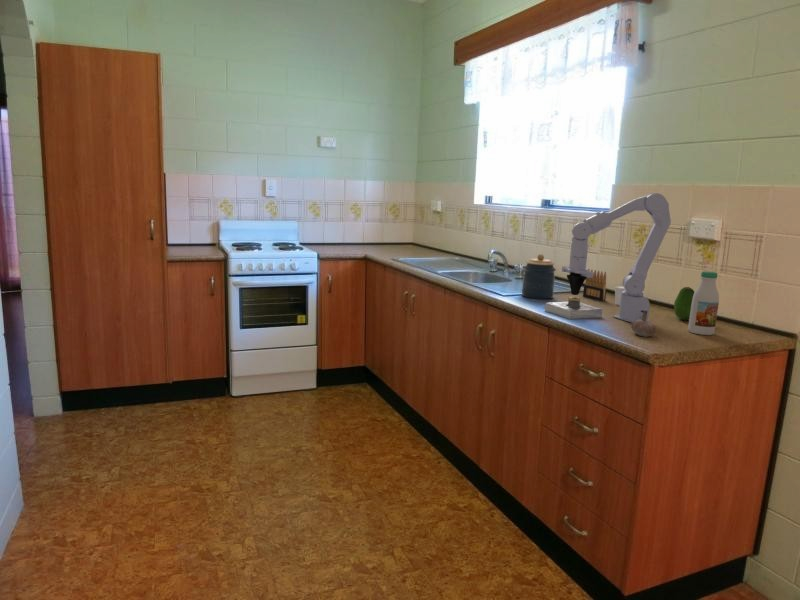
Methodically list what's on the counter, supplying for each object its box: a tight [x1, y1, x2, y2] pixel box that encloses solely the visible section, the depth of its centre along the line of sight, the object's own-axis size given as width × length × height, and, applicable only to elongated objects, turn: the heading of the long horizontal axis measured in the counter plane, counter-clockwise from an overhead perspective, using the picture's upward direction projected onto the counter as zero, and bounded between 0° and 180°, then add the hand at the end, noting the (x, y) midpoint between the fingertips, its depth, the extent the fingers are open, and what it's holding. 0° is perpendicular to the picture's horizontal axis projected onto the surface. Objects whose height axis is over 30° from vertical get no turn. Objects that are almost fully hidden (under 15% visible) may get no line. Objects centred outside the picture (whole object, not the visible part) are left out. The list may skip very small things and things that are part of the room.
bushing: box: [567, 296, 581, 307], centre depth 212 cm, size 4×4×6 cm
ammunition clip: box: [582, 268, 607, 302], centre depth 244 cm, size 11×2×12 cm, turn 29°
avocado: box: [673, 286, 695, 321], centre depth 209 cm, size 8×8×12 cm
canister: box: [521, 253, 557, 300], centre depth 243 cm, size 13×13×18 cm
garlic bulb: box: [631, 310, 656, 338], centre depth 185 cm, size 8×7×8 cm
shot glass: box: [614, 285, 625, 306], centre depth 234 cm, size 7×7×7 cm
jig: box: [544, 301, 603, 320], centre depth 212 cm, size 14×14×3 cm
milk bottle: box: [687, 270, 720, 336], centre depth 189 cm, size 8×8×20 cm
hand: (574, 294), depth 211 cm, fingers closed
